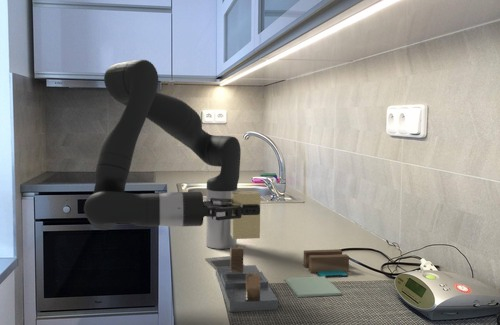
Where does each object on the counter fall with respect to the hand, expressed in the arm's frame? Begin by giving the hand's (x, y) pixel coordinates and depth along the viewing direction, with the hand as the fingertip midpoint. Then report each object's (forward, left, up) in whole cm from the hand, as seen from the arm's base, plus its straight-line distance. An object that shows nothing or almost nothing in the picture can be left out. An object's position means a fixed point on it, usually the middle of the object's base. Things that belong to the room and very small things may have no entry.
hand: (257, 207), depth 117 cm
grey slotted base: (0, -3, -19) cm, 19 cm away
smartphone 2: (-14, +21, -20) cm, 32 cm away
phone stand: (-14, +21, -19) cm, 32 cm away
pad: (0, +13, -19) cm, 23 cm away
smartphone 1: (-20, -4, -20) cm, 28 cm away
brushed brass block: (0, -3, -7) cm, 7 cm away
